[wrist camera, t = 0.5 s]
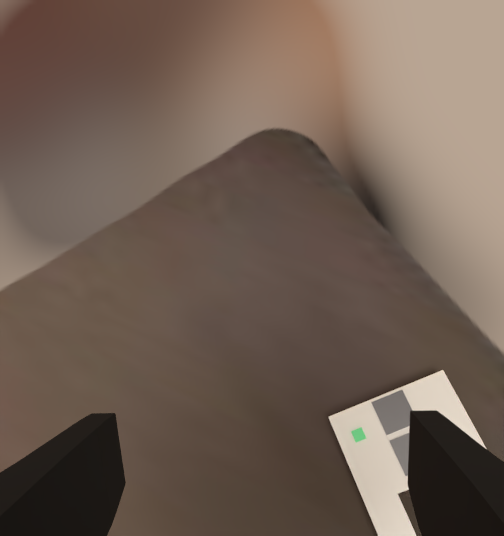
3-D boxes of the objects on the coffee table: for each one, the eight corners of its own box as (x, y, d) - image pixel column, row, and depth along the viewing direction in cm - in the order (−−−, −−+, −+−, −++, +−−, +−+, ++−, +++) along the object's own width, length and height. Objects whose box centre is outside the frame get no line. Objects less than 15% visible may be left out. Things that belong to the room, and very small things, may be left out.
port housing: (531, 546, 30) (544, 552, 28) (403, 596, 30) (407, 606, 28) (437, 374, 35) (443, 369, 33) (329, 418, 35) (328, 416, 33)
